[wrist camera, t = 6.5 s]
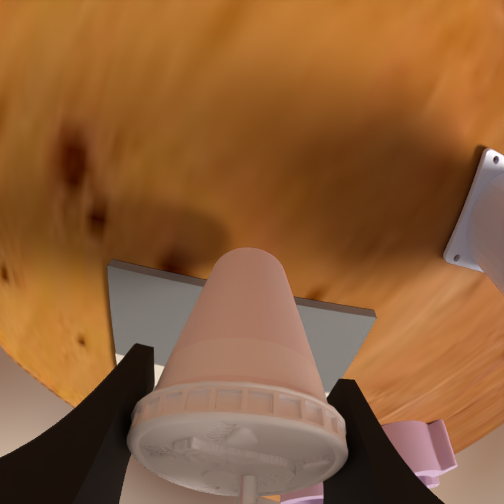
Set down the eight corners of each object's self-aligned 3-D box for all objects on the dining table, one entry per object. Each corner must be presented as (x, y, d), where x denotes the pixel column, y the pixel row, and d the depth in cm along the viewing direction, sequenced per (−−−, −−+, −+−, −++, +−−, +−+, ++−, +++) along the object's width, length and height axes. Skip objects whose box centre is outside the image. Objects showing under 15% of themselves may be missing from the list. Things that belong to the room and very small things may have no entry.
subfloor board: (373, 310, 21) (377, 319, 20) (310, 417, 28) (311, 425, 27) (112, 259, 20) (106, 266, 19) (124, 383, 27) (121, 391, 26)
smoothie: (241, 344, 18) (222, 595, 6) (159, 270, 16) (50, 558, 4) (336, 288, 16) (402, 583, 4) (258, 192, 14) (240, 628, 1)
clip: (285, 474, 36) (285, 516, 30) (277, 437, 30) (276, 493, 24) (423, 451, 34) (432, 490, 28) (449, 406, 28) (466, 455, 22)
